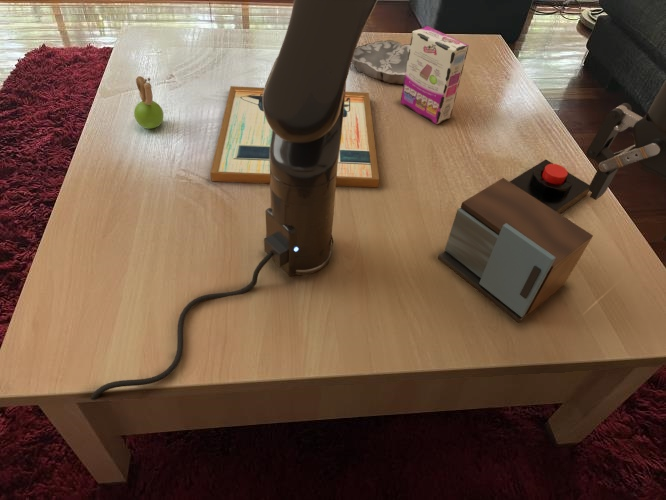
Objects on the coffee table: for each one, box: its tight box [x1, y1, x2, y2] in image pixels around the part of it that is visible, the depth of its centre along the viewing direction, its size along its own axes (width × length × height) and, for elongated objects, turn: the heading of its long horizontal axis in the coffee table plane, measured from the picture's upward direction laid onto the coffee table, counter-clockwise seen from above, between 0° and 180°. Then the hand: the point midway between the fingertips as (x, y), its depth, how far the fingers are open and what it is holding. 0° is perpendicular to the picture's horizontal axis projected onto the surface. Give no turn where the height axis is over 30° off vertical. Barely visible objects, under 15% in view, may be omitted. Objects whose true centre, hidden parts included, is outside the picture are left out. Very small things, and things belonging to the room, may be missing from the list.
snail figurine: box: [133, 75, 164, 130], centre depth 101 cm, size 5×6×12 cm
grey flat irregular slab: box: [351, 39, 410, 85], centre depth 127 cm, size 20×17×3 cm
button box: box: [509, 159, 590, 215], centre depth 97 cm, size 12×10×4 cm
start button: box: [542, 163, 569, 185], centre depth 95 cm, size 4×4×2 cm
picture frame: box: [209, 85, 380, 188], centre depth 105 cm, size 30×2×30 cm
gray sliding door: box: [479, 223, 556, 317], centre depth 74 cm, size 1×8×12 cm, turn 40°
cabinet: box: [437, 177, 594, 323], centre depth 80 cm, size 12×16×11 cm
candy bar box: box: [399, 25, 470, 125], centre depth 110 cm, size 11×5×16 cm, turn 42°
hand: (631, 216), depth 57 cm, fingers open, 8 cm apart
